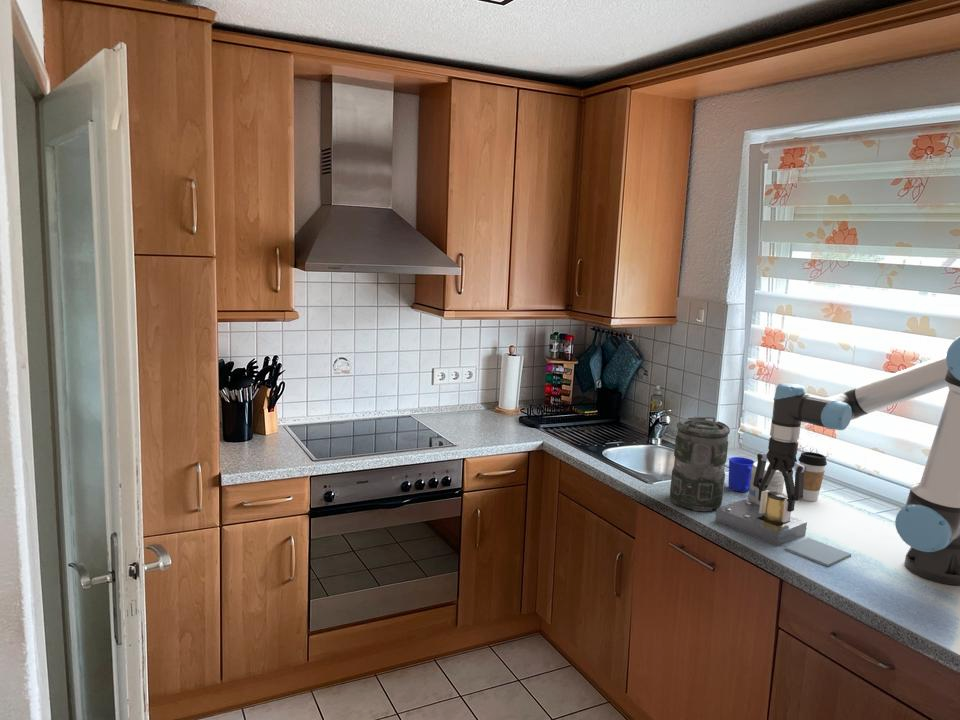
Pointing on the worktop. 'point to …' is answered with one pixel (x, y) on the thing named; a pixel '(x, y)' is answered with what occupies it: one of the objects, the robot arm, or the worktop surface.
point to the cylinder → (774, 508)
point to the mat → (818, 552)
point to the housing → (759, 523)
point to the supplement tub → (774, 485)
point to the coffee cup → (812, 474)
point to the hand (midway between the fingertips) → (774, 516)
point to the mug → (740, 473)
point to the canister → (699, 463)
